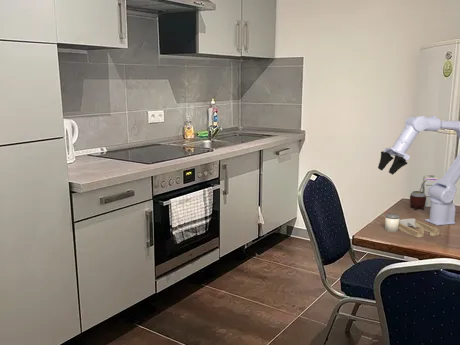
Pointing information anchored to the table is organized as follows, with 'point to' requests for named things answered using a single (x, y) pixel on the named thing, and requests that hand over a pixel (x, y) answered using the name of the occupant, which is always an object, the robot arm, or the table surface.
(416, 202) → the mate gourd
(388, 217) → the jar
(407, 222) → the pusher
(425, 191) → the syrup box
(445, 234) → the table surface
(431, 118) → the robot arm
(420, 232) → the lane
